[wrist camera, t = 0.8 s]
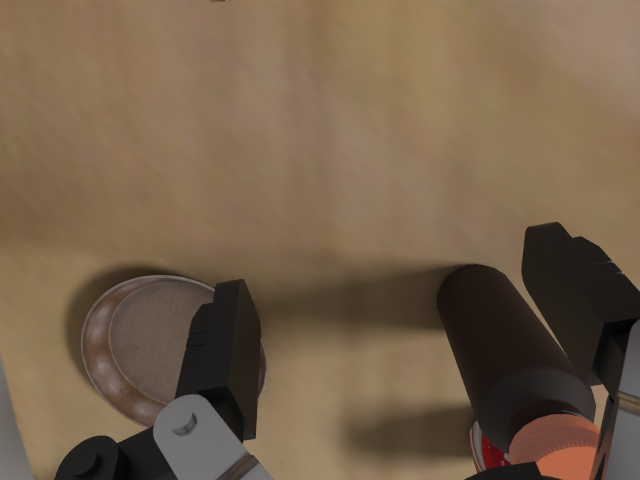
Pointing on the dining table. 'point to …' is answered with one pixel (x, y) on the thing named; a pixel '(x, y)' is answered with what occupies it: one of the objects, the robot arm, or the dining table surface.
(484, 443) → the soda can
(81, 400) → the dining table surface
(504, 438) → the bottle
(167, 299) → the plant saucer
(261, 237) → the dining table surface
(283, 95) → the dining table surface
